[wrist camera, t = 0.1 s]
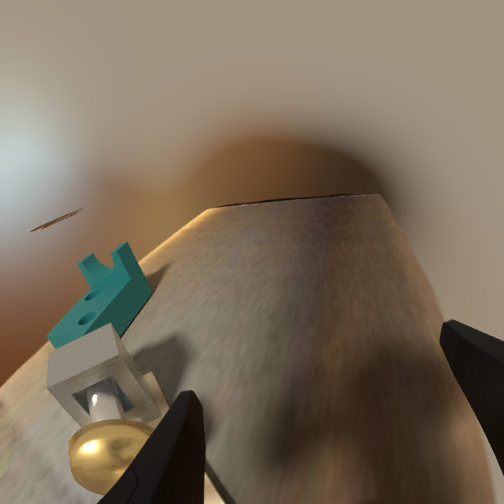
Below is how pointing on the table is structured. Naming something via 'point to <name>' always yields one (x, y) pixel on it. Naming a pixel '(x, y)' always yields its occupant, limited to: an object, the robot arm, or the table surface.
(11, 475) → the table surface
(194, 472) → the robot arm
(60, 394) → the bearing block
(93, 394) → the shaft
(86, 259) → the teal saddle bracket
